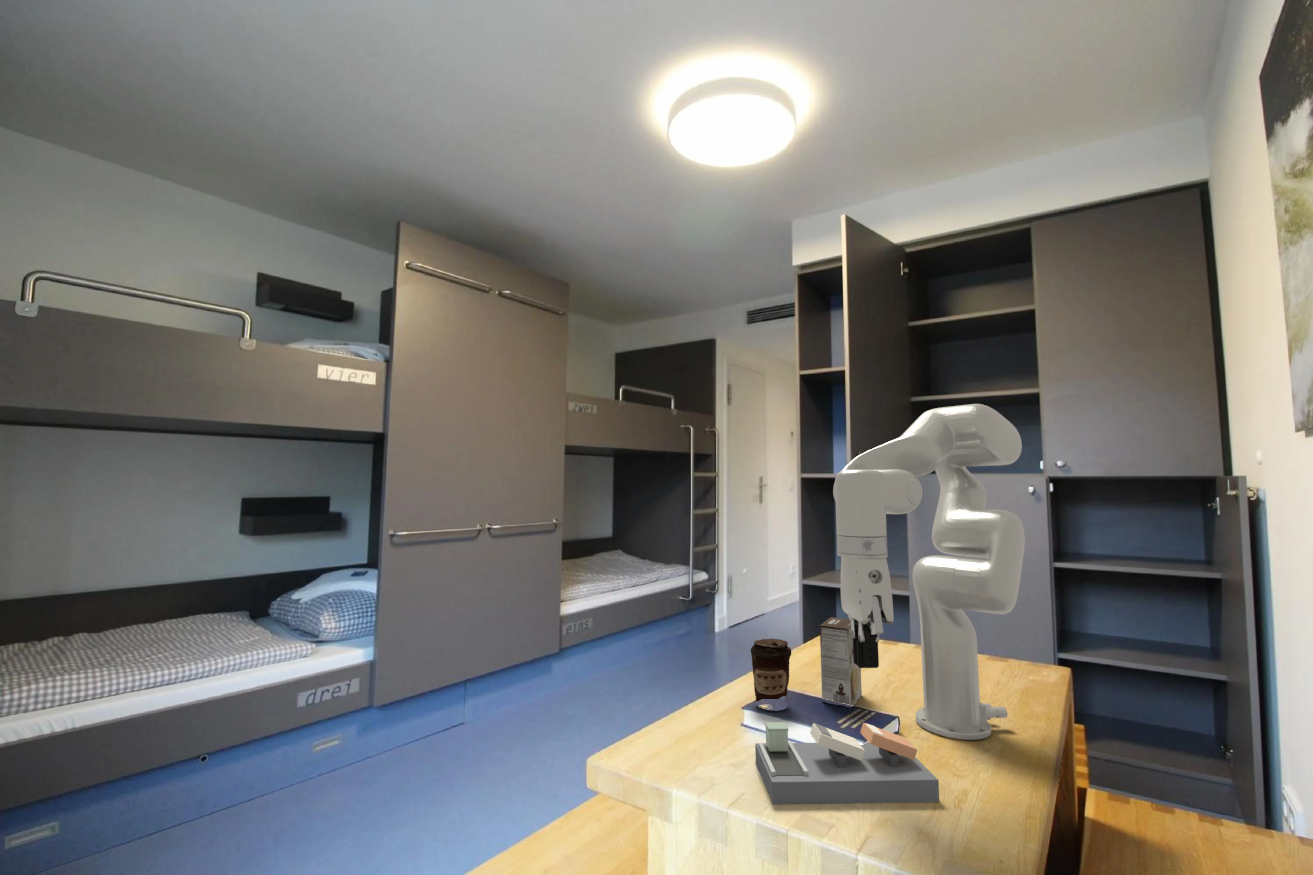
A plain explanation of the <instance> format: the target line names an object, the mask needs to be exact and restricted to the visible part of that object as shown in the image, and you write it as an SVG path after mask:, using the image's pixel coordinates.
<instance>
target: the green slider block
mask: <svg viewBox="0 0 1313 875" xmlns="http://www.w3.org/2000/svg"><path fill="white" fill-rule="evenodd" d="M764 725H765V743H766V745H767V747H768V749H769V751H788V742H789V727H788V726H787V724H786V723H785V722H784V721H783V722H782V721H781V722H779V721H778V722H777V721H774V722H771V721H770V722H769V721H767V722H764Z"/></svg>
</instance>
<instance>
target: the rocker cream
mask: <svg viewBox="0 0 1313 875" xmlns="http://www.w3.org/2000/svg"><path fill="white" fill-rule="evenodd" d="M809 733H810V735H811V737H812V738H813V739H814V741H815V743H817V744H818V745H820V746H823V747H826V748H828V749H831V750H834V751H837V752H839V753H842V754H845V755H847V756H850V757H853V758H856V759H858V760H861V761H862V758H863V755H864V752H865V750H864V749H863V747H862V746H861V745H860V744H859V743H858V742H859V741H858V740H857V739H856V738H855V737H852V736H850V735H847V734H844V733H841V732H838V731H836V730H833V729H830V728H828V727H825V726H823V725H821V724H818V723H812V725H811V729H810V732H809Z"/></svg>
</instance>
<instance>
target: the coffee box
mask: <svg viewBox="0 0 1313 875" xmlns="http://www.w3.org/2000/svg"><path fill="white" fill-rule="evenodd" d="M819 638H820V639H819V642H820V645H819V646H820V672H821V676H820V677H821V699H822V698H824V699H829V700H833V701H835V702H838V703H845V704H849V705H854V706H855V705H856V703H858V701H859V699H860V698H861V696H862V694H863V692H862V672H861V671H862V670H861V669H862V668H859V667H858V666H857V665H856V664H855V663H854V659H853V638H856V637H853V636H852V628H851V620H850V619H849V618H842V617H835V616H831V617H829V618H827V619H826V620H825V621H824V622H822V623H821V624H819ZM857 700H858V701H857Z"/></svg>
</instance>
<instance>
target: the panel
mask: <svg viewBox="0 0 1313 875" xmlns="http://www.w3.org/2000/svg"><path fill="white" fill-rule="evenodd" d="M867 742H868V741H867ZM754 745H755V748H754V749H755V764H756V767H757V769H758V773H759V774H760V776H761V779H762V782H763V784H764V786H765V789H766V791H767V794H768V797H769V799H770V802H771V805H806V804H807V805H811V804H816V805H817V804H818V805H822V804H887V803H888V804H889V803H894V804H898V803H903V804H904V803H940V788H939V784H940V783H939V779H938V778H937V777H936V776H935V775H934V774H933V773H932V772H931V771H930V770H929V769H928V768H927V767H926V766H925V765H924V764H923V763H922V762H921V761H920V760H919V758H917V757H916V756H915V760H912V759H910V758H907V757H904V756H902V755H899V754H896V753H893V752H891V751H888V750H885V749H883V748H880V747H877V746H874V745H872V744H870V743H869V742H868V743H866V744H864V745H861V746H862V747H863V749H864V750H865V752H864V755H863V758H862V761H861V760H858V759H856V758H853V757H850V756H847V755H845V754H842V753H839V752H837V751H834V750H831V749H828V748H826V747H823V746H820V745H818V744H817V743H816V742H792V741H791V742H789V741H788V751H769V749H768V747H767V745H766V742H765V743H764V742H757V743H755V744H754Z"/></svg>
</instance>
